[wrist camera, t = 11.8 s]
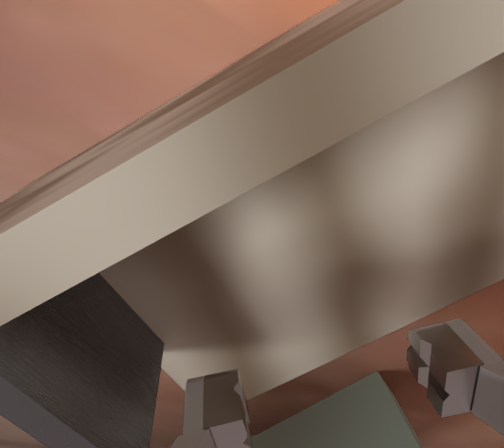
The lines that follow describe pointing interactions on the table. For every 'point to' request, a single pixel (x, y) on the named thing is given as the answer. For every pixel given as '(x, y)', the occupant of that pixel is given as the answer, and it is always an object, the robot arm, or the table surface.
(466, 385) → the robot arm
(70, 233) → the shelf
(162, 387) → the table surface
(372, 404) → the grey flat block
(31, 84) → the table surface
